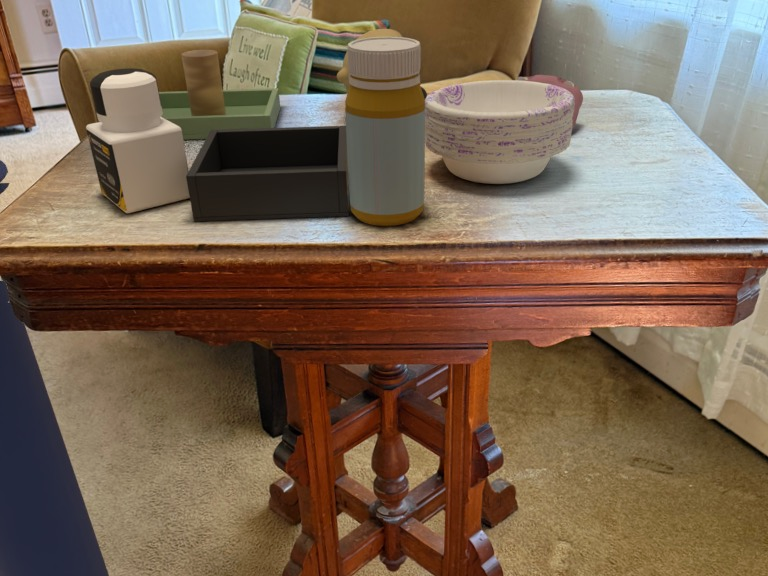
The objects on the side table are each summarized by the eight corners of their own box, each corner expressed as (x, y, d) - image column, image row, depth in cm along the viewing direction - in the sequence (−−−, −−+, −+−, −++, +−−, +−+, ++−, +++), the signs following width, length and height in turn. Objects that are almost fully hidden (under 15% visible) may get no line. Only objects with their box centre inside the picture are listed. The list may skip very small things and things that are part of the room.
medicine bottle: (101, 194, 78) (71, 71, 71) (166, 179, 81) (143, 60, 74) (126, 215, 73) (96, 85, 66) (194, 198, 76) (173, 72, 69)
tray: (128, 141, 93) (124, 119, 91) (152, 111, 104) (148, 92, 103) (272, 136, 93) (269, 115, 92) (280, 107, 104) (278, 88, 103)
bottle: (418, 230, 68) (419, 52, 60) (343, 225, 70) (333, 51, 61) (428, 201, 74) (430, 36, 66) (359, 198, 75) (352, 35, 67)
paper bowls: (424, 149, 88) (425, 77, 83) (556, 148, 87) (564, 75, 82) (422, 196, 75) (423, 115, 71) (576, 196, 74) (587, 113, 70)
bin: (193, 221, 71) (185, 175, 69) (216, 170, 83) (210, 129, 81) (348, 216, 71) (346, 170, 69) (348, 165, 84) (346, 125, 81)
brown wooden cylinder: (189, 124, 96) (178, 57, 92) (195, 114, 100) (184, 50, 96) (223, 122, 97) (214, 56, 92) (228, 113, 100) (219, 49, 96)
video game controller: (577, 141, 94) (590, 83, 93) (569, 133, 90) (583, 72, 89) (502, 132, 98) (513, 76, 97) (491, 124, 94) (503, 65, 92)
